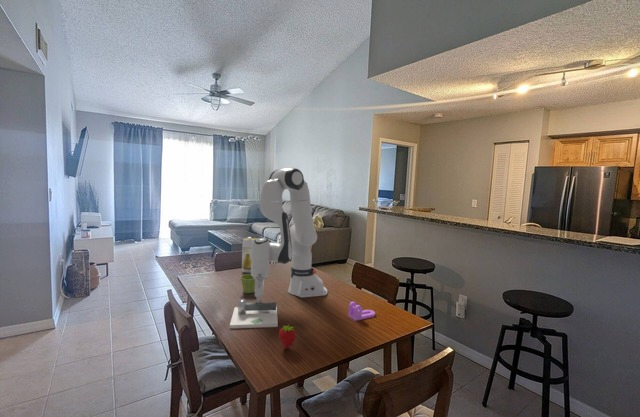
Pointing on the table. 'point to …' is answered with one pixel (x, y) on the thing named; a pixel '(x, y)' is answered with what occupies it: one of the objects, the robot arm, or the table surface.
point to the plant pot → (248, 283)
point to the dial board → (254, 319)
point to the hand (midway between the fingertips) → (259, 298)
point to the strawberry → (287, 336)
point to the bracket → (359, 312)
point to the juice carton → (247, 254)
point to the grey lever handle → (254, 306)
